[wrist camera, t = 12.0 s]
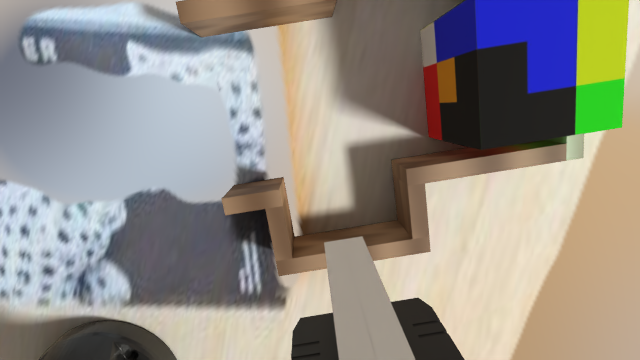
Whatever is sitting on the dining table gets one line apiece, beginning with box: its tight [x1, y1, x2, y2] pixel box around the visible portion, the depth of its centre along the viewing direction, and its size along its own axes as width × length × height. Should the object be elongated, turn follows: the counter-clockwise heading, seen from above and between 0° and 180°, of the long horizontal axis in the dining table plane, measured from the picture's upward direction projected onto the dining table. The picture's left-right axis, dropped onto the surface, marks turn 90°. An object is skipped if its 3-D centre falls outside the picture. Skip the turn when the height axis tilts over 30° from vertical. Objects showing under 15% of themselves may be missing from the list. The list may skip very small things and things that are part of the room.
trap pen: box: [176, 0, 584, 276], centre depth 29 cm, size 32×30×5 cm
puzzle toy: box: [420, 0, 629, 150], centre depth 26 cm, size 10×10×10 cm
